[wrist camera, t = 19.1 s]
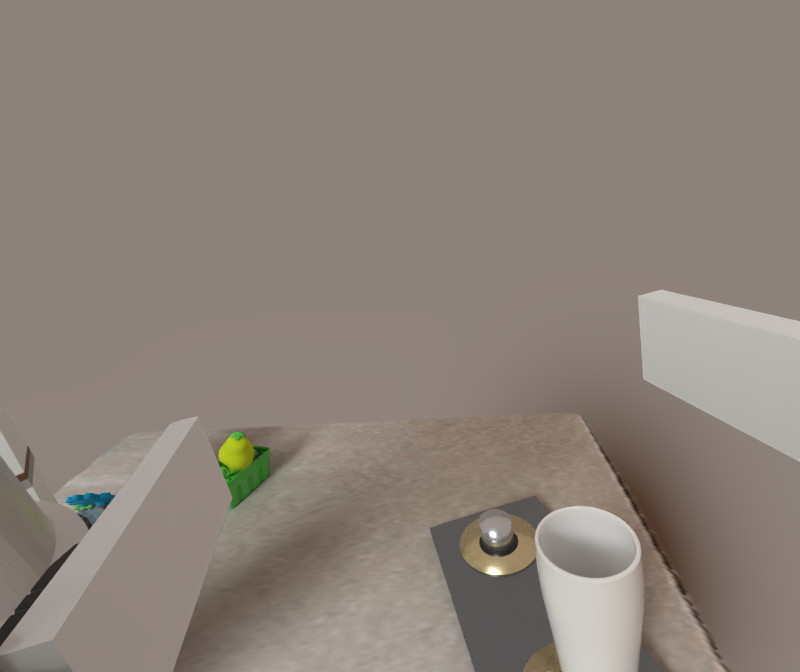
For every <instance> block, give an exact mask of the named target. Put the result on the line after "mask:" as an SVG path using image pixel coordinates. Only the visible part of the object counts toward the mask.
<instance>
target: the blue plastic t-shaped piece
mask: <svg viewBox="0 0 800 672" xmlns="http://www.w3.org/2000/svg"><path fill="white" fill-rule="evenodd" d="M110 494H111V493H101V494H100V495H98V494H94V493H86V494H84V495H73V497H67V501H66V503H69V505H74V509H73V510H78V512H77V513H79V512H82V511H89V510H87V509H93V508H101V509H104V510H105V509H106V507H107V505H109V504H110V502H111V501H112V500H113V498H114V497H115V496H116V495H110ZM81 506H82V507H81Z"/></svg>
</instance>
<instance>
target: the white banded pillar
mask: <svg viewBox="0 0 800 672" xmlns="http://www.w3.org/2000/svg"><path fill="white" fill-rule="evenodd" d="M0 456H1V457H2V458H3V460H4V461H5V462H6V464H7V465H8V466H9V468H10V469H11V470H12V472H13V473H14V474H15V476H16V477H17V478H18V480H19V481H20V482H21V484H22V485H23V486H24V488H25V489H26V490H27V492H28V493H29V494H30V496H31V497H32V498H33V500H34V501H45V502H51V503H57V501H56V499H55V497H54V495H53V494H52V492H51V490H50V488H49V486H48V485H47V483H46V481H45V479H44V478H43V476H42V474H41V472H40V470H39V465H38V464H37V462H36V460H35V458H34V456H33V454H32V453H31V451H30V449H29V447H28V446H27V444H26V442H25V440H24V438H23V437H22V435H21V433H20V431H19V429H18V427H17V426H16V424H15V422H14V420H13V419H12V417H11V415H10V413H9V411H8V410H7V408H6V406H5V404H4V402H3V401H2V399H1V397H0ZM57 504H58V503H57Z"/></svg>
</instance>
